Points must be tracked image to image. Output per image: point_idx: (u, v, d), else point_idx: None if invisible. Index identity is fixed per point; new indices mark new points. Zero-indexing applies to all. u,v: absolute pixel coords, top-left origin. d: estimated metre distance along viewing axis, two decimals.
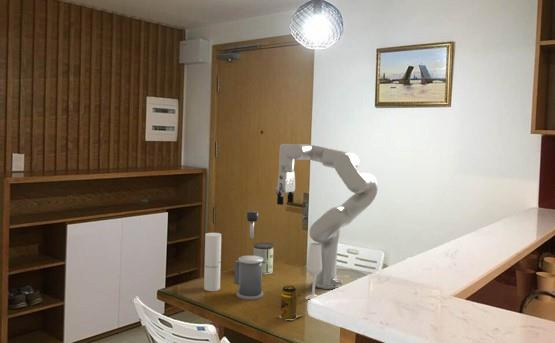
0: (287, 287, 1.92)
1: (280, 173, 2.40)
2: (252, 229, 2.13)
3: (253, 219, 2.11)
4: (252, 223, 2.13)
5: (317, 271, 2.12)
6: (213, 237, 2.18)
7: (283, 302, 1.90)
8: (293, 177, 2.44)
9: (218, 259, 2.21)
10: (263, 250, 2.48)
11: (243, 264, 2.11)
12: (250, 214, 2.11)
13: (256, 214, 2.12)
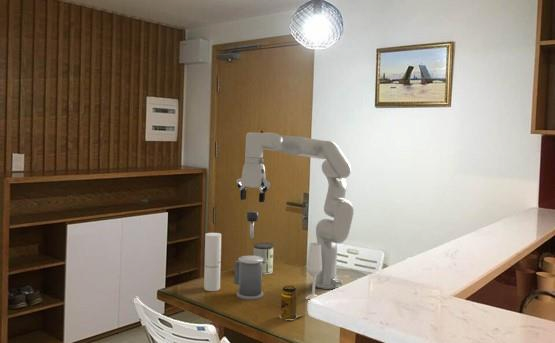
0: (287, 287, 1.92)
1: (261, 166, 2.09)
2: (252, 229, 2.13)
3: (253, 219, 2.11)
4: (252, 223, 2.13)
5: (317, 271, 2.12)
6: (213, 237, 2.18)
7: (283, 302, 1.90)
8: None
9: (218, 259, 2.21)
10: (263, 250, 2.48)
11: (243, 264, 2.11)
12: (250, 214, 2.11)
13: (256, 214, 2.12)
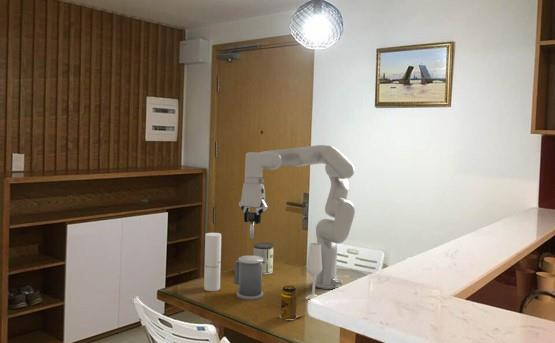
0: (287, 287, 1.92)
1: (260, 186, 2.10)
2: (252, 229, 2.13)
3: (253, 219, 2.11)
4: (252, 223, 2.13)
5: (317, 271, 2.12)
6: (213, 237, 2.18)
7: (283, 302, 1.90)
8: None
9: (218, 259, 2.21)
10: (263, 250, 2.48)
11: (243, 264, 2.11)
12: (250, 214, 2.11)
13: None
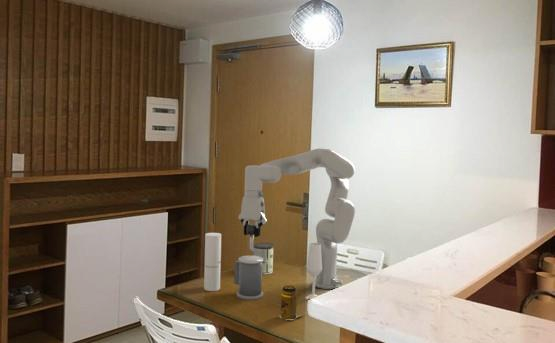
0: (287, 287, 1.92)
1: (260, 199, 2.10)
2: (252, 242, 2.14)
3: (253, 232, 2.12)
4: (252, 236, 2.14)
5: (317, 271, 2.12)
6: (213, 237, 2.18)
7: (283, 302, 1.90)
8: None
9: (218, 259, 2.21)
10: (263, 250, 2.48)
11: (243, 264, 2.11)
12: (250, 227, 2.12)
13: None
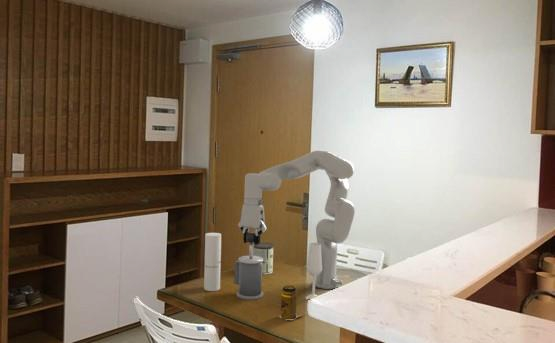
0: (287, 287, 1.92)
1: (260, 207, 2.10)
2: (251, 250, 2.14)
3: (252, 240, 2.12)
4: (251, 244, 2.14)
5: (317, 271, 2.12)
6: (213, 237, 2.18)
7: (283, 302, 1.90)
8: None
9: (218, 259, 2.21)
10: (263, 250, 2.48)
11: (243, 264, 2.11)
12: (249, 235, 2.12)
13: (255, 235, 2.13)
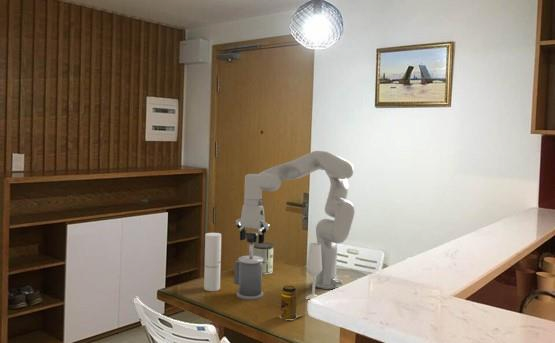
0: (287, 287, 1.92)
1: (260, 208, 2.10)
2: (251, 250, 2.14)
3: (252, 240, 2.12)
4: (251, 244, 2.14)
5: (317, 271, 2.12)
6: (213, 237, 2.18)
7: (283, 302, 1.90)
8: None
9: (218, 259, 2.21)
10: (263, 250, 2.48)
11: (243, 264, 2.11)
12: (249, 235, 2.12)
13: (255, 236, 2.13)
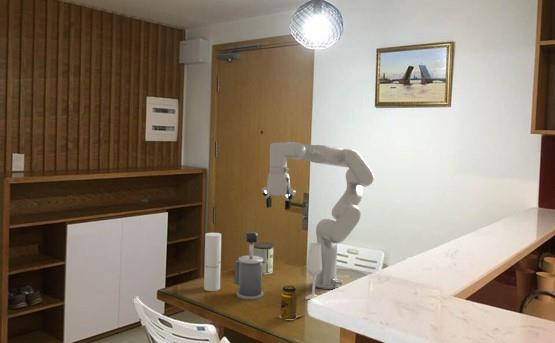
0: (287, 287, 1.92)
1: (285, 175, 2.17)
2: (251, 250, 2.14)
3: (252, 240, 2.12)
4: (251, 244, 2.14)
5: (317, 271, 2.12)
6: (213, 237, 2.18)
7: (283, 302, 1.90)
8: None
9: (218, 259, 2.21)
10: (263, 250, 2.48)
11: (243, 264, 2.11)
12: (249, 235, 2.12)
13: (255, 236, 2.13)
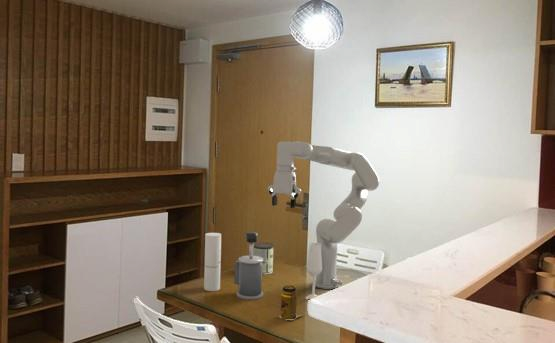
0: (287, 287, 1.92)
1: (292, 174, 2.20)
2: (251, 250, 2.14)
3: (252, 240, 2.12)
4: (251, 244, 2.14)
5: (317, 271, 2.12)
6: (213, 237, 2.18)
7: (283, 302, 1.90)
8: None
9: (218, 259, 2.21)
10: (263, 250, 2.48)
11: (243, 264, 2.11)
12: (249, 235, 2.12)
13: (255, 236, 2.13)
